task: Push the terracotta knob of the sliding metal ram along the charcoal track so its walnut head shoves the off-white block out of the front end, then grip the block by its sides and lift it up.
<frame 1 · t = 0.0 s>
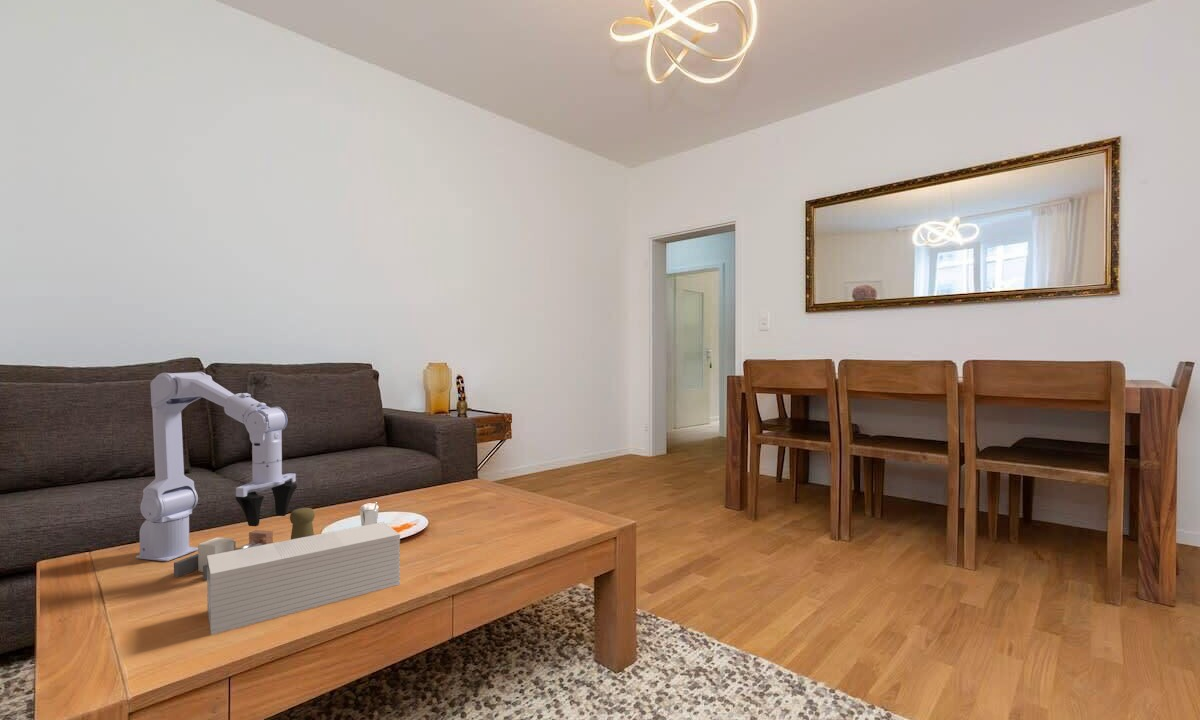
hand: (267, 520, 122), 10 cm above the table, tool pointing down, fingers open, 7 cm apart
cork: (302, 555, 129), on the table
track: (220, 565, 122), on the table
ram: (246, 545, 129), point 2 cm above the table, slide at 0.0 cm
block: (216, 567, 121), on the table
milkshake: (370, 539, 139), on the table
stack of papers: (309, 599, 106), on the table
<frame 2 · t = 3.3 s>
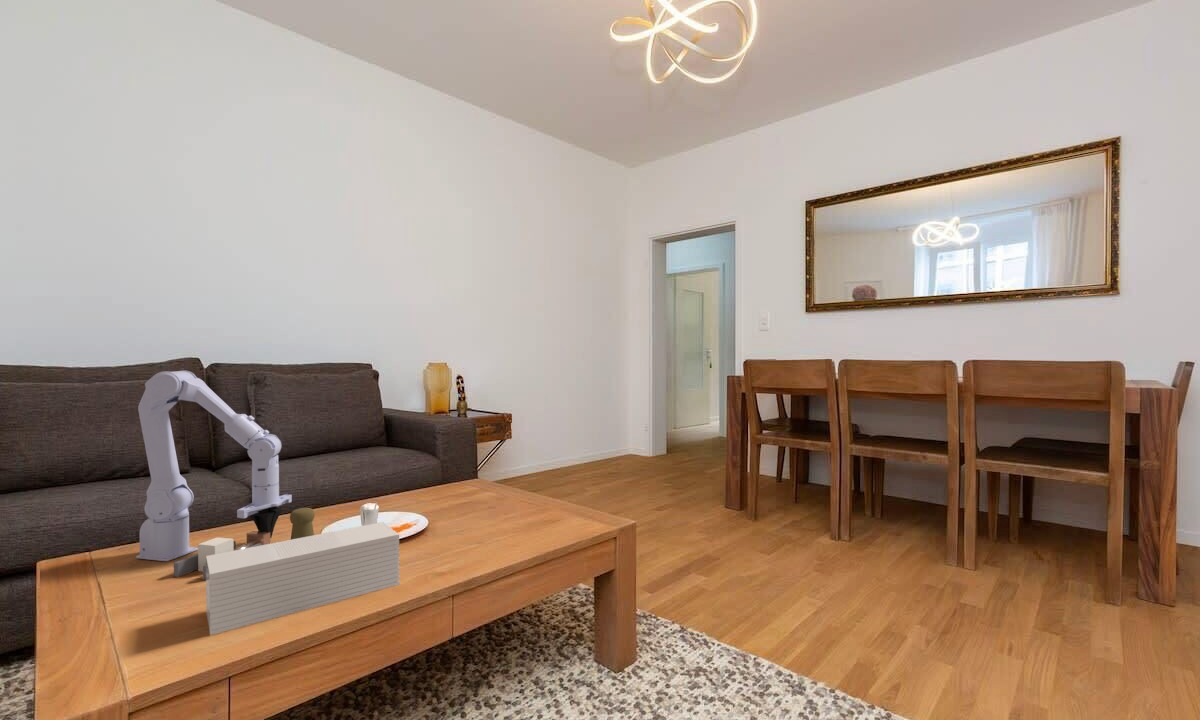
hand: (266, 538, 134), 2 cm above the table, tool pointing down, fingers closed
ram: (244, 546, 128), point 2 cm above the table, slide at 0.7 cm, touching block, gripper
block: (216, 568, 121), on the table, touching ram
everything else where it was.
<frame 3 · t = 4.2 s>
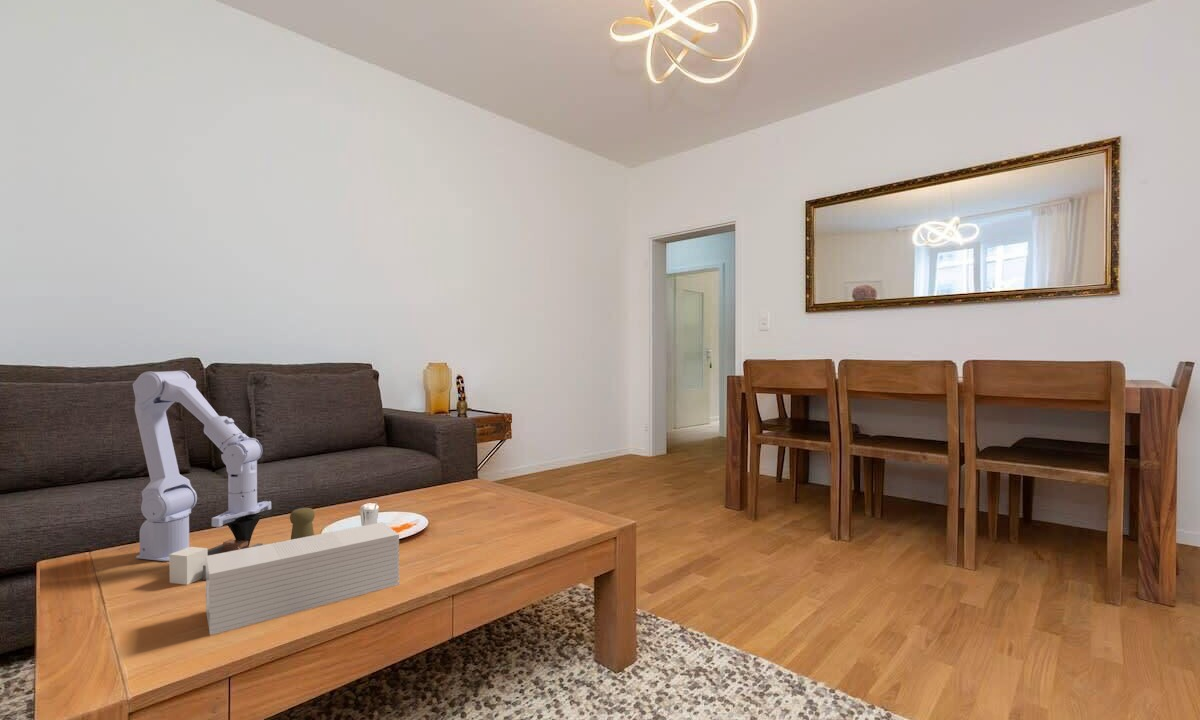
hand: (243, 547, 128), 2 cm above the table, tool pointing down, fingers closed
ram: (220, 556, 122), point 2 cm above the table, slide at 7.1 cm, touching block, gripper
block: (189, 579, 115), on the table, touching ram
everything else where it was.
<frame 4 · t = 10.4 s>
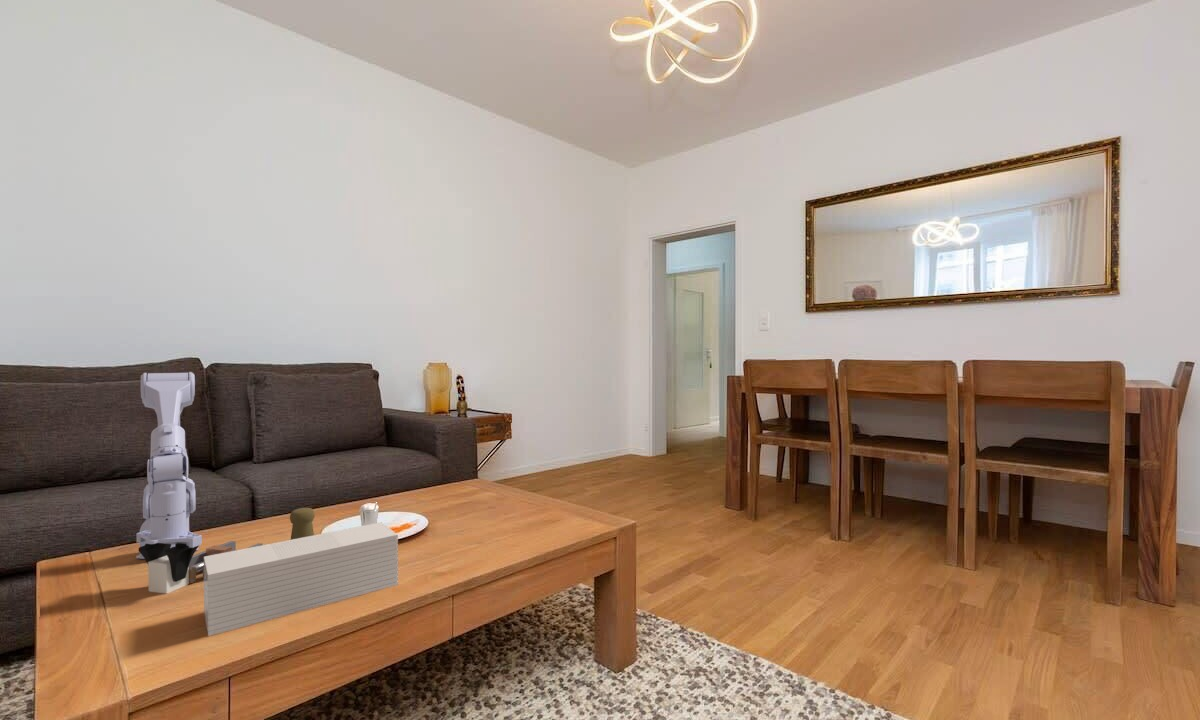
hand: (169, 578, 111), 2 cm above the table, tool pointing down, fingers closed on block, 5 cm apart
ram: (202, 563, 118), point 2 cm above the table, slide at 11.3 cm
block: (169, 587, 111), on the table, touching gripper
everything else where it was.
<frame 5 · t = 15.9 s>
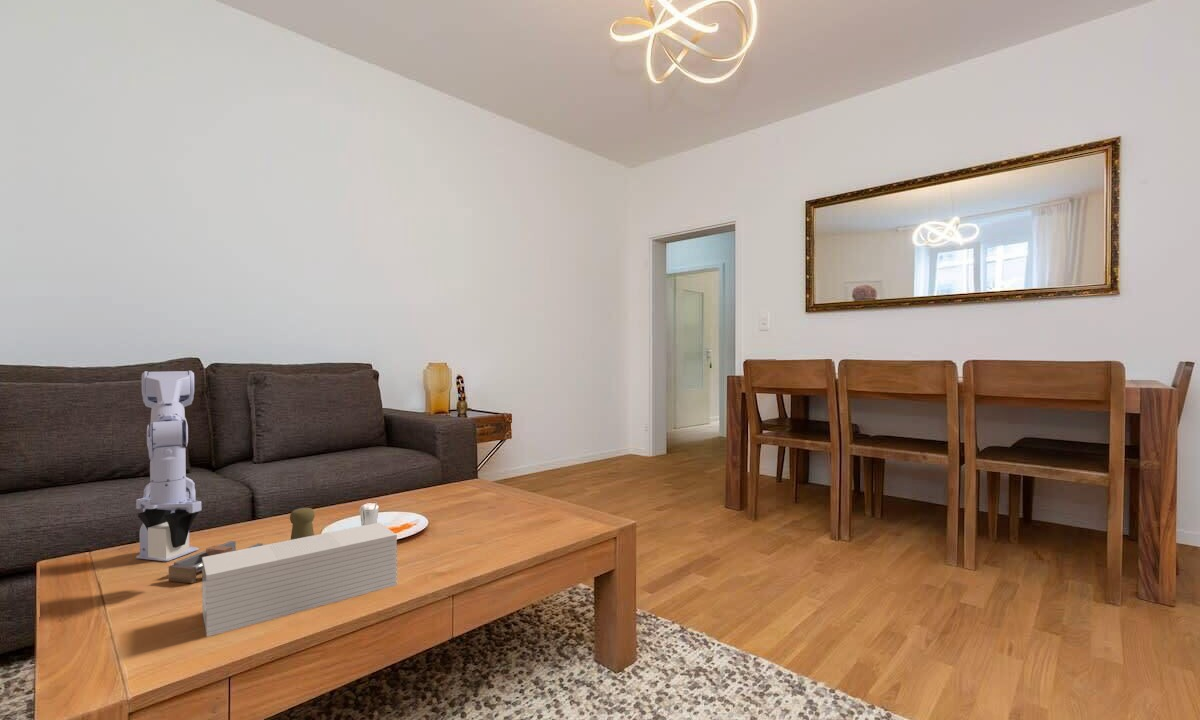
hand: (169, 544, 111), 9 cm above the table, tool pointing down, fingers closed on block, 5 cm apart
block: (168, 554, 110), point 7 cm above the table, touching gripper
everything else where it was.
at the end: block inside the target area (0.6 cm from its centre), point 6.9 cm above the table; ram slide at 11.3 cm; the gripper is holding block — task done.
